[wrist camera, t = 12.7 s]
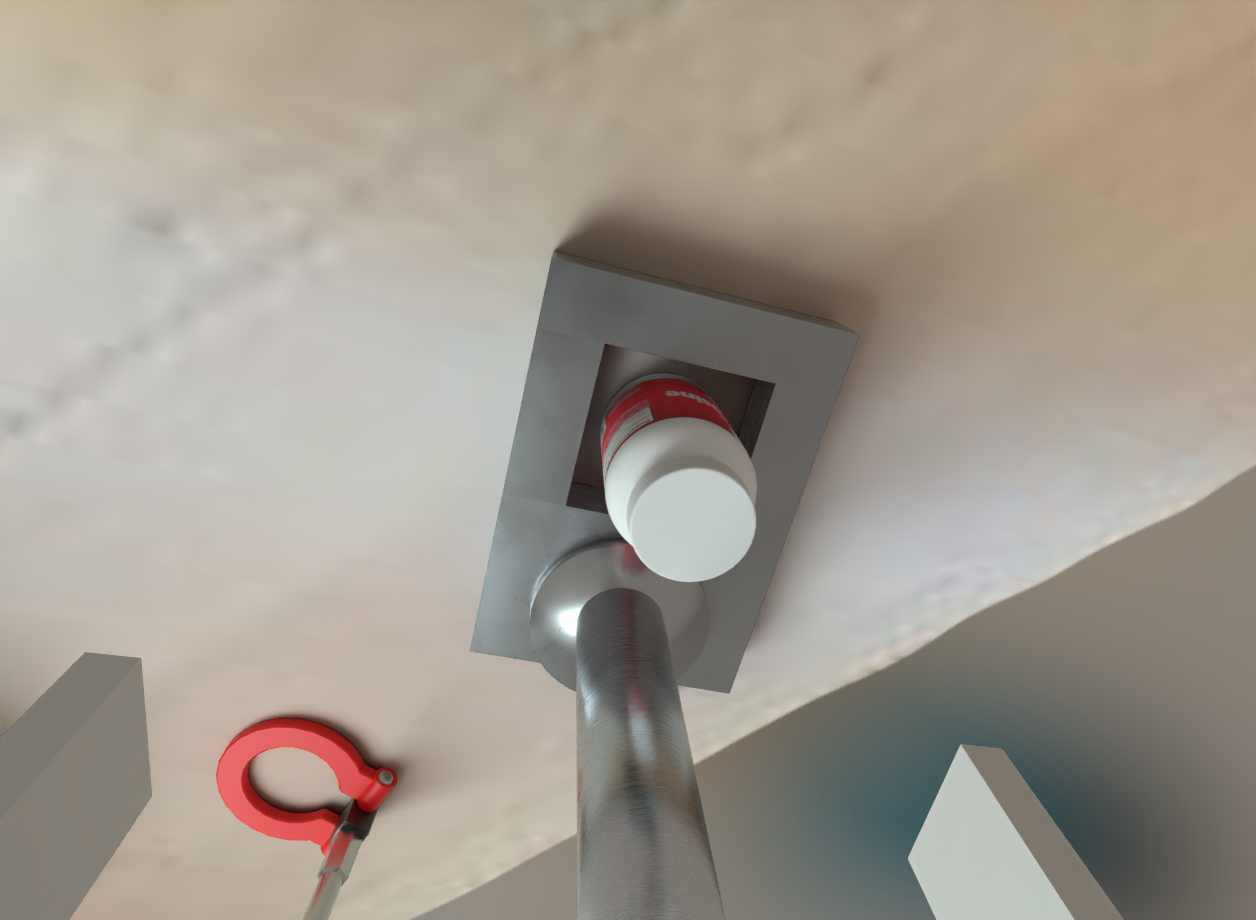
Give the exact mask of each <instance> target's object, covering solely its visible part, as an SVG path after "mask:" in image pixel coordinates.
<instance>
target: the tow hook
mask: <svg viewBox="0 0 1256 920" xmlns="http://www.w3.org/2000/svg"><path fill="white" fill-rule="evenodd" d="M278 747H294V748H299V749H303V750H307V751H309V752H311V753H313V754H315V755H318V756H319V757H320V758H322V759H323V760H324V761H325V762H327V763H328V764H329V766H330V767H331V768H332V769H333V771H334V772H335V774H336V777H337V779H338V782H339V789H340V791H341V792H342V793H344V794H346V795H348V796H350V797H352V798H353V799H352V800H351V801H350V803H349V804H348V805H347V807H346V808H345V809H344V811H343V812H342V813H341V815H340V816H339V815H337V814H335V813H333V812H331V811H329V810H327V809H321V810H318V811H315V812H310V813H291V812H287V811H282V810H279V809H277V808H275V807H273V806H270V805H269V804H268V803H266V802H265V801H263V800H262V799H261V798H260V797H259V796H258V795H257V794H256V793H255V791H254V790H253V788H252V786H251V784H250V782H249V777H248V768H249V763H250V761H251V760H252V759H253V758H254V757H255V756H257V755H258V754H259V753H262V752H264V751H266V750H268V749H273V748H278ZM216 777H217V784H218V790H219V793H220V795H221V797H222V799H223V801H224V803H225V805H226V806H227V807H228V808H229V809H230V811H231V812H232V813H233V814H234V815H235V816H236V817H237V818H238V819H239V820H241V821H242V822H243V823H245V824H246V825H248V826H249V827H251V828H252V829H254V830H256V831H259V832H261V833H263V834H266V835H268V836H271V837H276V838H280V839H285V840H302V841H308V840H310V841H312V842H314V843H316V844H318V845H321V851H322V853H323V854H324V855H325V858H324V861H323V863H322V865H321V868H320V870H319V872H318V879H319V882H318V884H317V887H316V889H315V892H314V894H313V896H312V899H311V901H310V904H309V906H308V908H307V911H306V913H305V916H304V918H303V920H328V918H329V916H330V913H331V911H332V908H333V905H334V903H335V900H336V898H337V895H338V892H339V890H340V887H341V886H342V885H343V884H344V883H345V881H346V880H347V879H348V877H349V874H350V872H351V869H352V866H353V864H354V861H355V859H356V856H357V853H358V850H359V848H360V845H361V843H362V842H363V840H364V839H365V838H366V837H367V835H368V834H369V832H370V829H371V826H372V824H373V821H374V818H375V815H376V813H377V810H378V807H379V805H380V804H381V803H382V801H383V800H384V799H385V797H386V796H387V795H388V794H389V792H390V791H391V790H392V788H393V787H394V786H395V785H396V782H397V777H396V775H395V773H394V772H393V771H392V770H390V769H388V768H384V767H383V768H379V769H378V770H375V769H373V768H371V767H369V766H367V765H365V764H364V762H363V760H362V757H361V756H360V754H359V753H358V752H357V751H356V749H355V748H354V747H353V746H352V744H351V743H350V742H348V741H347V740H346V739H345V738H343V737H342V736H341V735H339V734H338V733H337V732H335V731H333V730H331V729H329V728H327V727H325V726H323V725H321V724H318V723H314V722H310V721H306V720H302V719H286V718H278V719H273V720H268V721H263V722H260V723H257V724H255V725H253V726H251V727H249V728H247V729H245V730H243V731H242V732H241V733H240V734H239V735H238V736H236V737H235V738H234V739H233V740H232V741H231V742H230V744H229V745H228V747H227V748H226V750H225V752H224V753H223V755H222V757H221V758H220V760H219V764H218V769H217V774H216Z"/></svg>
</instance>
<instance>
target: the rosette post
mask: <svg viewBox="0 0 1256 920" xmlns="http://www.w3.org/2000/svg"><path fill="white" fill-rule="evenodd" d="M859 336H860V335H859V334H857V333H855V332H854V331H852V330H850V329H848V328H846V327H844V326H843V325H841V324H839V323H837V322H833V321H829V320H825V319H821V318H817V317H813V316H809V315H805V314H801V313H797V312H793V311H790V310H786V309H782V308H778V307H774V306H770V305H766V304H762V303H758V302H754V301H750V300H746V299H742V298H738V297H734V296H730V295H726V294H722V293H718V292H714V291H710V290H706V289H702V288H698V287H694V286H690V285H686V284H682V283H678V282H674V281H670V280H666V279H662V278H658V277H654V276H650V275H646V274H643V273H639V272H635V271H631V270H627V269H623V268H619V267H615V266H611V265H607V264H603V263H599V262H595V261H591V260H587V259H583V258H579V257H575V256H571V255H567V254H563V253H559V252H555V251H553V255H552V259H551V263H550V268H549V273H548V278H547V283H546V288H545V292H544V297H543V302H542V307H541V312H540V316H539V321H538V326H537V331H536V336H535V340H534V345H533V350H532V355H531V360H530V364H529V369H528V374H527V379H526V384H525V389H524V393H523V398H522V403H521V408H520V413H519V417H518V422H517V427H516V432H515V437H514V441H513V446H512V451H511V456H510V461H509V465H508V470H507V475H506V480H505V485H504V489H503V494H502V499H501V504H500V509H499V514H498V518H497V523H496V528H495V533H494V538H493V542H492V547H491V552H490V557H489V562H488V566H487V571H486V576H485V581H484V586H483V590H482V595H481V600H480V605H479V610H478V615H477V619H476V624H475V629H474V634H473V639H472V643H471V648H470V651H471V652H478V653H484V654H490V655H496V656H502V657H508V658H514V659H520V660H527V661H533V662H539V663H541V664H542V665H543V667H544V668H545V669H546V670H547V672H548V673H549V674H550V675H551V676H552V677H554V678H555V679H556V680H557V681H558V682H560V683H561V684H563V685H564V686H566V687H568V688H569V689H572V690H574V691H576V715H577V876H578V877H577V881H578V882H577V883H578V884H577V887H578V889H577V891H578V920H725V915H724V911H723V906H722V901H721V896H720V891H719V886H718V881H717V877H716V872H715V867H714V862H713V857H712V852H711V847H710V842H709V837H708V832H707V828H706V823H705V818H704V813H703V808H702V803H701V798H700V793H699V789H698V784H697V779H696V774H695V769H694V764H693V759H692V754H691V750H690V745H689V740H688V735H687V730H686V725H685V720H684V715H683V710H682V706H681V701H680V696H679V691H678V686H677V685H680V686H686V687H692V688H698V689H704V690H711V691H717V692H723V693H730V691H731V688H732V685H733V682H734V680H735V677H736V674H737V671H738V669H739V666H740V663H741V660H742V658H743V655H744V652H745V649H746V647H747V644H748V641H749V638H750V636H751V633H752V630H753V627H754V625H755V622H756V619H757V616H758V614H759V611H760V608H761V605H762V603H763V600H764V597H765V594H766V592H767V589H768V586H769V583H770V581H771V578H772V575H773V572H774V570H775V567H776V564H777V561H778V559H779V556H780V553H781V550H782V548H783V545H784V542H785V539H786V537H787V534H788V531H789V528H790V526H791V523H792V520H793V517H794V515H795V512H796V509H797V506H798V504H799V501H800V498H801V495H802V493H803V490H804V487H805V484H806V482H807V479H808V476H809V473H810V471H811V468H812V465H813V462H814V460H815V457H816V454H817V451H818V449H819V446H820V443H821V440H822V438H823V435H824V432H825V429H826V427H827V424H828V421H829V418H830V415H831V413H832V410H833V407H834V404H835V402H836V399H837V396H838V393H839V391H840V388H841V385H842V382H843V380H844V377H845V374H846V371H847V369H848V366H849V363H850V360H851V358H852V355H853V352H854V349H855V347H856V344H857V341H858V338H859ZM605 344H609V345H613V346H618V347H622V348H626V349H630V350H635V351H639V352H643V353H647V354H652V355H656V356H660V357H664V358H669V359H673V360H677V361H682V362H686V363H690V364H694V365H699V366H703V367H707V368H711V369H716V370H720V371H724V372H728V373H733V374H737V375H741V376H746V377H750V378H754V379H756V382H755V385H754V388H753V391H752V394H751V397H750V401H749V404H748V407H747V410H746V413H745V416H744V419H743V422H742V426H741V429H740V432H739V435H738V438H739V440H740V441H741V443H742V445H743V446H744V448H745V450H746V451H747V453H748V455H749V457H750V459H751V462H752V464H753V467H754V470H755V475H756V481H757V493H756V501H755V505H754V507H755V512H756V531H755V535H754V538H753V541H752V543H751V545H750V547H749V549H748V551H747V553H746V554H745V555H744V557H743V558H742V559H741V560H740V561H739V562H738V563H737V564H736V565H735V566H734V567H733V568H731V569H730V570H728V571H727V572H725V573H724V574H721V575H719V576H717V577H715V578H712V579H708V580H704V581H697V582H682V581H676V580H671V579H668V578H665V577H663V576H661V575H659V574H657V573H655V572H653V571H652V570H651V569H649V568H648V567H647V566H646V565H645V564H644V563H643V562H642V561H641V559H640V558H639V557H638V555H637V554H636V552H635V550H634V547H633V546H632V545H631V544H630V543H628V542H627V541H626V540H625V539H624V538H623V536H622V535H621V534H620V533H619V532H618V530H617V529H616V527H615V525H614V524H613V522H612V520H611V517H610V515H609V512H608V508H607V504H606V500H605V489H601V488H597V487H592V486H587V485H582V484H577V483H572V482H571V481H572V477H573V473H574V469H575V464H576V460H577V456H578V452H579V448H580V444H581V440H582V436H583V431H584V427H585V423H586V419H587V415H588V411H589V407H590V402H591V398H592V394H593V390H594V386H595V382H596V378H597V374H598V369H599V365H600V361H601V357H602V353H603V349H604V345H605Z"/></svg>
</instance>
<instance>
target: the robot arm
mask: <svg viewBox="0 0 1256 920" xmlns="http://www.w3.org/2000/svg"><path fill="white" fill-rule="evenodd" d="M151 797H152V789H151V776H150V763H149V751H148V738H147V726H146V713H145V701H144V688H143V675H142V663H141V658H135V657H125V656H116V655H106V654H97V653H87V652H85V653H84V654H83V655H82V656H81V657H80V658H79V659H78V660H77V661H76V662H75V663H74V664H73V665H72V666H71V667H70V668H69V669H68V670H67V671H66V672H65V673H64V674H63V675H62V676H61V677H60V678H59V679H58V680H57V681H56V682H55V683H54V684H53V685H52V686H51V687H50V688H49V689H48V690H47V691H46V692H45V693H44V694H43V695H42V696H41V697H40V698H39V699H38V700H37V701H36V702H35V703H34V704H33V705H32V706H31V707H30V708H29V709H28V710H27V711H26V712H25V713H24V714H23V715H22V716H21V717H20V718H19V719H18V720H17V721H16V722H15V723H14V724H13V725H12V726H11V727H10V728H9V729H8V730H7V731H6V732H5V733H4V734H3V735H2V736H1V737H0V920H70V918H71V917H72V915H73V914H74V912H75V911H76V909H77V908H78V906H79V905H80V903H81V902H82V900H83V899H84V897H85V896H86V894H87V893H88V891H89V890H90V888H91V887H92V885H93V884H94V882H95V881H96V879H97V878H98V876H99V875H100V873H101V872H102V870H103V869H104V867H105V866H106V864H107V863H108V861H109V860H110V858H111V857H112V855H113V854H114V852H115V851H116V849H117V848H118V846H119V845H120V843H121V842H122V840H123V839H124V837H125V836H126V834H127V833H128V831H129V830H130V828H131V827H132V825H133V824H134V822H135V821H136V819H137V818H138V816H139V815H140V813H141V812H142V810H143V809H144V807H145V806H146V804H147V803H148V801H149V800H150V798H151ZM908 860H909V862H910V864H911V866H912V868H913V870H914V873H915V875H916V877H917V879H918V881H919V883H920V885H921V887H922V890H923V892H924V894H925V896H926V898H927V900H928V903H929V904H930V907H931V909H932V911H933V913H934V915H935V918H936V920H1124V919H1123V918H1122V917H1121V915H1120V914H1119V912H1118V911H1117V910H1116V908H1115V907H1114V905H1113V904H1112V903H1111V901H1110V900H1109V898H1108V897H1107V896H1106V894H1105V893H1104V892H1103V890H1102V889H1101V887H1100V886H1099V885H1098V883H1097V882H1096V880H1095V879H1094V877H1093V876H1092V874H1091V873H1090V872H1089V870H1088V869H1087V867H1086V866H1085V865H1084V863H1083V862H1082V860H1081V859H1080V858H1079V857H1078V855H1077V853H1076V852H1075V851H1074V849H1073V848H1072V846H1071V845H1070V844H1069V842H1068V841H1067V839H1066V838H1065V837H1064V835H1063V834H1062V833H1061V831H1060V830H1059V828H1058V827H1057V825H1056V824H1055V823H1054V821H1053V820H1052V818H1051V817H1050V816H1049V814H1048V813H1047V811H1046V810H1045V809H1044V807H1043V806H1042V804H1041V803H1040V802H1039V800H1038V799H1037V797H1036V796H1035V795H1034V793H1033V792H1032V790H1031V789H1030V787H1029V786H1028V785H1027V783H1026V782H1025V781H1024V779H1023V778H1022V776H1021V775H1020V774H1019V772H1018V771H1017V769H1016V768H1015V766H1014V765H1013V764H1012V762H1011V761H1010V759H1009V758H1008V757H1007V755H1006V754H1005V753H1004V751H1003V750H1002V749H1000V748H990V747H981V746H971V745H960V747H959V749H958V752H957V754H956V756H955V758H954V760H953V762H952V765H951V767H950V769H949V771H948V773H947V775H946V778H945V780H944V782H943V784H942V786H941V788H940V790H939V792H938V795H937V797H936V799H935V801H934V803H933V806H932V808H931V810H930V812H929V814H928V816H927V818H926V820H925V823H924V825H923V827H922V829H921V831H920V834H919V836H918V838H917V840H916V842H915V844H914V846H913V848H912V851H911V853H910V855H909V857H908Z"/></svg>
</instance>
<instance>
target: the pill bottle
mask: <svg viewBox="0 0 1256 920" xmlns="http://www.w3.org/2000/svg"><path fill="white" fill-rule="evenodd" d="M600 442H601V453H602V465H603V477H604V489H605V500H606V504H607V508H608V512H609V515H610V517H611V520H612V522H613V524H614V525H615V527H616V529H617V530H618V532H619V533H620V534H621V535H622V536H623V538H624V539H625V540H626V541H627V542H628V543H630V544H631V545H632V546H633V547H634V550H635V552H636V554H637V555H638V557H639V558H640V559H641V561H642V562H643V563H644V564H645V565H646V566H647V567H648V568H649V569H651V570H652V571H653V572H655V573H657V574H659V575H661V576H663V577H665V578H668V579H671V580H676V581H682V582H697V581H704V580H708V579H712V578H715V577H717V576H719V575H721V574H724V573H725V572H727V571H728V570H730V569H731V568H733V567H734V566H735V565H736V564H737V563H738V562H739V561H740V560H741V559H742V558H743V557H744V555H745V554H746V553H747V551H748V549H749V547H750V545H751V543H752V541H753V538H754V535H755V531H756V512H755V507H754V505H755V501H756V493H757V481H756V475H755V470H754V467H753V464H752V462H751V459H750V457H749V455H748V453H747V451H746V450H745V448H744V446H743V445H742V443H741V441H740V440H739V438H738V437H737V435H736V433H735V432H734V430H733V429H732V427H731V425H730V424H729V422H728V421H727V419H726V418H725V416H724V414H723V413H722V411H721V410H720V408H719V407H718V405H717V403H716V402H715V401H714V399H713V398H712V397H711V396H710V394H709V393H708V392H707V391H706V390H705V389H704V388H702V387H701V386H700V385H699V384H697V383H696V382H694V381H692V380H690V379H688V378H686V377H683V376H679V375H675V374H668V373H659V374H651V375H647V376H644V377H641V378H638V379H636V380H634V381H632V382H630V383H629V384H627V385H626V386H624V387H623V388H622V389H621V390H620V391H619V392H618V393H617V394H616V395H615V396H614V397H613V398H612V400H611V401H610V403H609V404H608V406H607V408H606V410H605V412H604V415H603V418H602V423H601V429H600Z"/></svg>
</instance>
